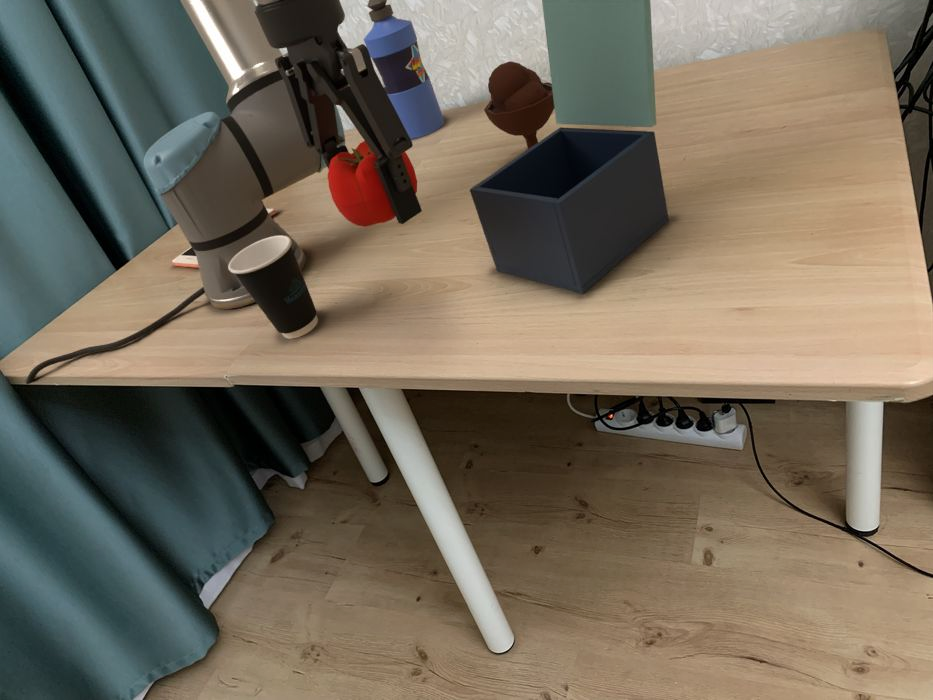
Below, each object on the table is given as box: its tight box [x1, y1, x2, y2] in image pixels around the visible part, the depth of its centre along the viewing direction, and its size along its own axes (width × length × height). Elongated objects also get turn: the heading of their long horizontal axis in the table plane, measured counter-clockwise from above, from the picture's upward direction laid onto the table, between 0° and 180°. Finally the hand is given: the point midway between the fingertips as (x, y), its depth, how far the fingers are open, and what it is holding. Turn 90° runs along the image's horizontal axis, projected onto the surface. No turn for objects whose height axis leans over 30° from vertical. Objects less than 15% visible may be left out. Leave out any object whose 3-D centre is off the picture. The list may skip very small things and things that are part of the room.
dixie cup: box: [228, 235, 319, 340], centre depth 85 cm, size 8×8×11 cm
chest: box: [469, 126, 670, 295], centre depth 79 cm, size 16×14×11 cm
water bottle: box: [363, 0, 445, 140], centre depth 131 cm, size 9×9×25 cm
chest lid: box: [541, 0, 657, 128], centre depth 75 cm, size 17×14×1 cm
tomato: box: [327, 140, 418, 228], centre depth 73 cm, size 9×9×8 cm
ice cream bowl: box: [483, 61, 555, 151], centre depth 103 cm, size 11×11×15 cm
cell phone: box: [171, 208, 277, 269], centre depth 122 cm, size 9×18×1 cm, turn 146°
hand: (382, 210), depth 75 cm, fingers closed on tomato, 9 cm apart
